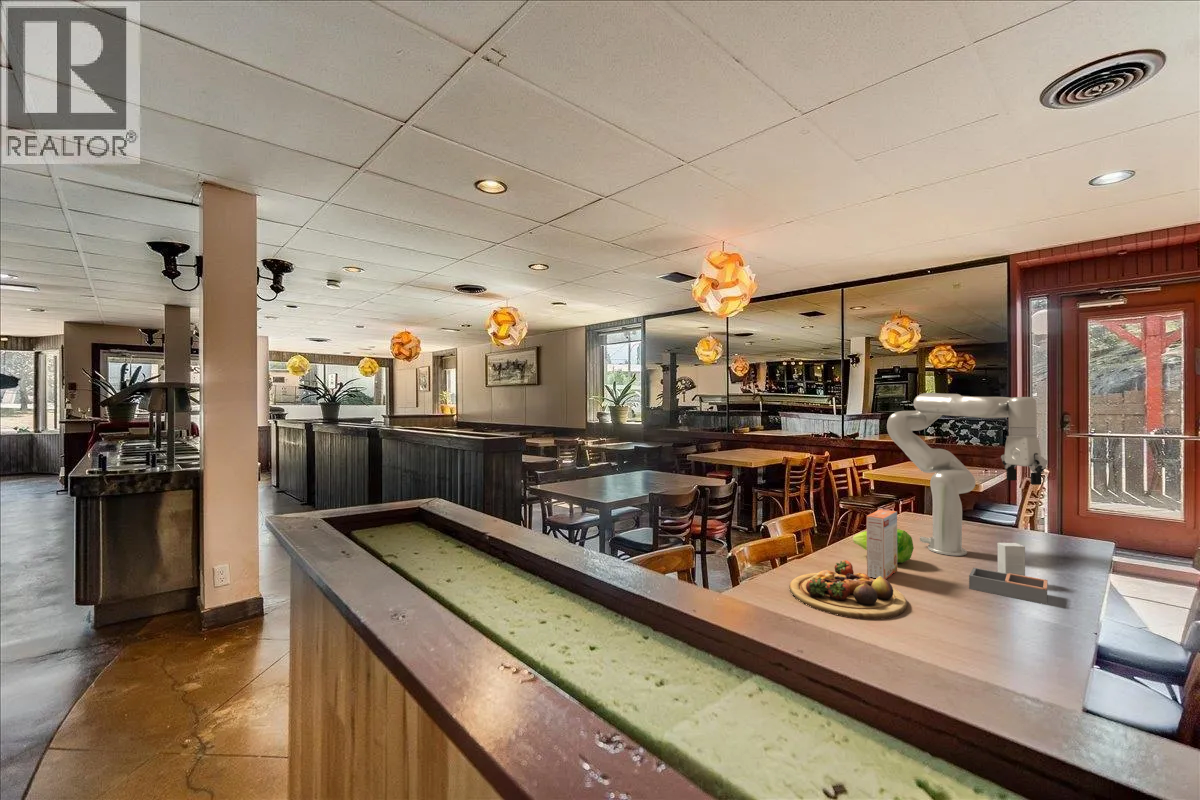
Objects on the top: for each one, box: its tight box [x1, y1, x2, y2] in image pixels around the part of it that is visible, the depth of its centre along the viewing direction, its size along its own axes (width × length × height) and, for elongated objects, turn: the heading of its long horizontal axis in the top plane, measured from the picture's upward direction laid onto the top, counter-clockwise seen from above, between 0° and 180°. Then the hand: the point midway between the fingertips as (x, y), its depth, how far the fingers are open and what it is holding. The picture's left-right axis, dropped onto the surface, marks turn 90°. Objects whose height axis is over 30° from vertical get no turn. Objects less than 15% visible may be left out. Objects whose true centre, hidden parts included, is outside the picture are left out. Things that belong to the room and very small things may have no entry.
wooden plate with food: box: [788, 559, 908, 620], centre depth 156 cm, size 32×32×8 cm
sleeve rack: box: [968, 567, 1048, 605], centre depth 160 cm, size 18×10×4 cm, turn 48°
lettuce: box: [852, 528, 915, 564], centre depth 191 cm, size 14×20×12 cm
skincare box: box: [996, 542, 1026, 576], centre depth 169 cm, size 6×4×12 cm
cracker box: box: [865, 508, 898, 580], centre depth 175 cm, size 14×6×21 cm, turn 135°
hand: (1023, 482), depth 178 cm, fingers open, 9 cm apart
